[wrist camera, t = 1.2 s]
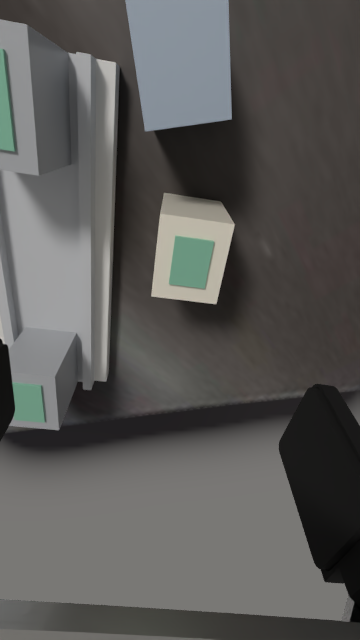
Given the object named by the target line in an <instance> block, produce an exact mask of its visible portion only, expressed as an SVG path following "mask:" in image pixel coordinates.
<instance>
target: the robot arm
mask: <svg viewBox="0 0 360 640" xmlns="http://www.w3.org/2000/svg"><path fill="white" fill-rule="evenodd" d="M14 413H15V401H14V393H13V384H12V375H11V366H10V357H9V349H8V345H7V344H3V342H2V340H1V339H0V441H1V439H2V437H3V435H4V434H5V432H6V430H7V428H8V426H9V425H10V423H11V421H12V419H13V417H14ZM279 452H280V455H281V458H282V462H283V465H284V468H285V471H286V474H287V478H288V480H289V484H290V487H291V490H292V494H293V497H294V500H295V503H296V506H297V509H298V512H299V516H300V519H301V522H302V525H303V528H304V532H305V535H306V538H307V541H308V544H309V548H310V551H311V554H312V557H313V560H314V563H315V565H316V566H317V567H318V568H319V569H321V571H322V574H323V578H324V581H325V582H331V583H345V586H346V589H347V591H348V598H347V602H346V606H345V609H344V613H343V617H342V621H334V620H320V619H305V618H291V617H277V616H261V615H247V614H233V613H217V612H202V611H186V610H185V611H184V610H169V609H155V608H154V609H153V608H139V607H123V606H107V605H89V604H73V603H55V602H38V601H37V602H36V601H21V600H4V599H0V640H360V426H359V424H358V422H357V421H356V419H355V418H354V416H353V415H352V413H351V411H350V409H349V408H348V406H347V404H346V403H345V401H344V400H343V398H342V396H341V395H340V393H339V391H338V390H337V388H336V387H334V386H328V385H321V384H315V385H313V387H312V388H308V389H307V391H306V393H305V395H304V397H303V398H302V400H301V402H300V404H299V406H298V408H297V410H296V412H295V413H294V415H293V417H292V419H291V421H290V423H289V424H288V426H287V428H286V430H285V432H284V434H283V436H282V438H281V440H280V442H279Z"/></svg>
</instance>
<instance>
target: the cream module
mask: <svg viewBox="0 0 360 640" xmlns="http://www.w3.org/2000/svg"><path fill="white" fill-rule="evenodd" d="M234 226H235V224H234V222H233V221H232V219H231V217H230V216H229V214H228V212H227V211H226V209H225V207H224V206H223V204H222V202H221V201H215V200H208V199H202V198H195V197H189V196H182V195H175V194H169V193H164V196H163V202H162V207H161V212H160V221H159V230H158V239H157V248H156V257H155V267H154V276H153V285H152V294H151V296H153V297H161V298H169V299H177V300H185V301H193V302H202V303H210V304H217V299H218V295H219V291H220V286H221V282H222V278H223V273H224V269H225V265H226V260H227V256H228V252H229V247H230V243H231V239H232V234H233V230H234Z"/></svg>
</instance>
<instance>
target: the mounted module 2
mask: <svg viewBox="0 0 360 640" xmlns="http://www.w3.org/2000/svg"><path fill="white" fill-rule="evenodd" d="M9 357H10V366H11V375H12V384H13V393H14V401H15V413H14V417H13V419H12V421H11V423H10V425H9V426H18V427H29V428H41V429H53V430H59V429H60V426H61V424H62V421H63V419H64V416H65V414H66V411H67V409H68V406H69V403H70V401H71V398H72V396H73V393H74V391H75V388H76V385H77V383H78V366H77V333H75V332H66V331H57V330H48V329H39V328H31V327H25V329H24V330H23V331H22V333H21V334H20V335H19V337H18V338H17V339H16V341H15V342H14V343H13V345H12V346H11V347H10V348H9Z"/></svg>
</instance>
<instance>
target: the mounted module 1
mask: <svg viewBox="0 0 360 640" xmlns="http://www.w3.org/2000/svg"><path fill="white" fill-rule="evenodd" d="M68 165H71V134H70V101H69V68H68V53H67V52H66V51H65V50H63V49H62V48H60V47H59V46H57V45H56V44H54V43H53V42H51V41H50V40H49V39H47V38H46V37H44V36H43V35H41V34H40V33H38V32H37V31H35V30H34V29H33V28H31V27H30V26H28V25H26V24H21V23H16V22H10V21H5V20H0V170H4V171H11V172H18V173H24V174H31V175H37V176H40V175H42V174H45V173H48V172H51V171H54V170H57V169H60V168H63V167H66V166H68Z"/></svg>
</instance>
